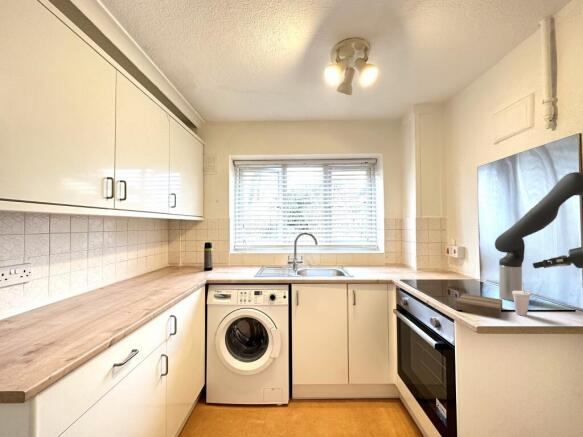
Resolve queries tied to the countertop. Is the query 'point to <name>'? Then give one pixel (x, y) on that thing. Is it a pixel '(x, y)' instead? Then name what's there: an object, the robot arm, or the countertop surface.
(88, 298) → the countertop surface
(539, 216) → the robot arm
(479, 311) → the plinth
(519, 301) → the smoothie
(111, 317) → the countertop surface
